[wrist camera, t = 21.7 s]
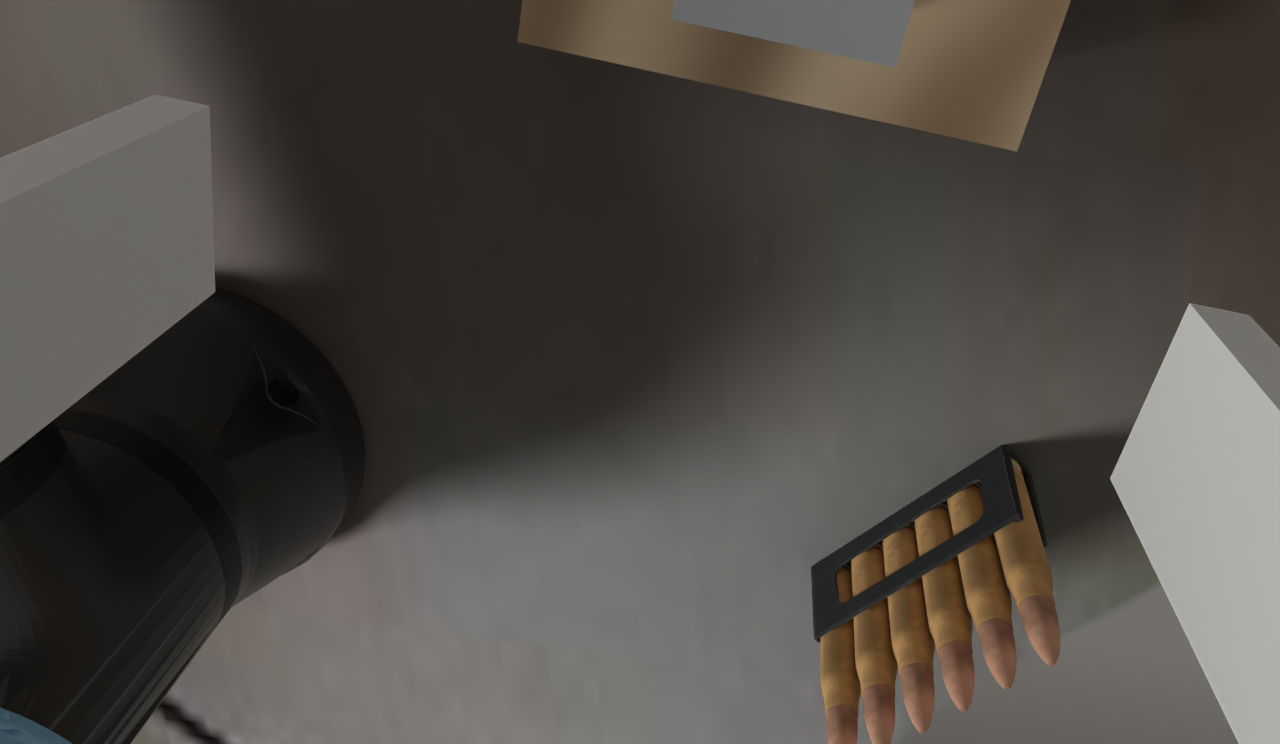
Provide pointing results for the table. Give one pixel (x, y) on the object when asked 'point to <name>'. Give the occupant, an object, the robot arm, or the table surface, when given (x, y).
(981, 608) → the ammunition clip
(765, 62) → the lid
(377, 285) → the table surface
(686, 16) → the grey taped box
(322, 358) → the robot arm
